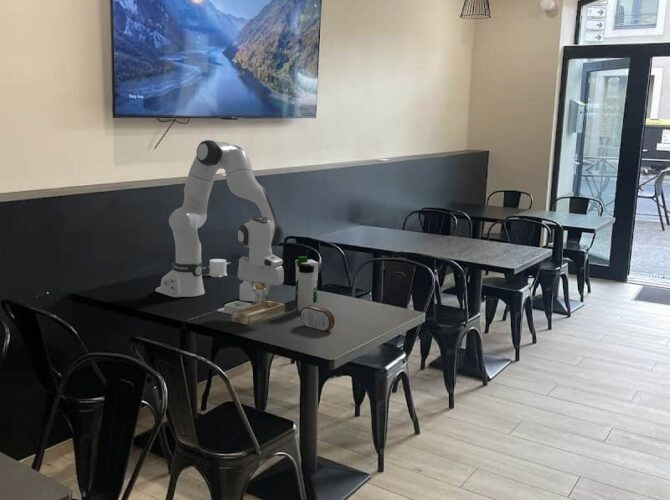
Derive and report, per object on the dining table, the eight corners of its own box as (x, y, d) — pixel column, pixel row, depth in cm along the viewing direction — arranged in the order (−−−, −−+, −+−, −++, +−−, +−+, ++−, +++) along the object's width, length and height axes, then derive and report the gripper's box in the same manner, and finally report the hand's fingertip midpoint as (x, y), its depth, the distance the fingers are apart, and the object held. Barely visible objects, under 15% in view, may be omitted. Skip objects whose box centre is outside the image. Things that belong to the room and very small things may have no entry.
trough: (231, 321, 267) (231, 312, 267) (267, 308, 287) (267, 300, 286) (250, 325, 263) (250, 316, 262) (285, 312, 282) (285, 304, 282)
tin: (334, 332, 258) (335, 310, 257) (329, 334, 256) (330, 312, 254) (304, 324, 267) (304, 302, 266) (298, 325, 265) (299, 304, 263)
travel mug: (293, 310, 285) (295, 263, 282) (306, 308, 290) (307, 261, 286) (303, 314, 281) (304, 265, 277) (315, 312, 285) (317, 264, 281)
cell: (252, 302, 273) (252, 282, 272) (258, 300, 277) (259, 280, 275) (261, 303, 271) (261, 283, 270) (267, 301, 275) (267, 281, 273)
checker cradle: (217, 311, 280) (217, 304, 280) (235, 305, 291) (235, 299, 290) (240, 316, 274) (240, 309, 274) (259, 310, 285) (259, 303, 284)
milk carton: (292, 300, 302) (293, 255, 298) (311, 298, 306) (312, 254, 303) (300, 305, 294) (302, 259, 291) (319, 303, 298) (321, 257, 295)
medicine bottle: (255, 302, 297) (255, 274, 295) (239, 300, 298) (239, 273, 296) (260, 298, 304) (260, 271, 302) (244, 296, 305) (245, 270, 303)
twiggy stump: (245, 277, 346) (245, 261, 344) (213, 282, 332) (213, 265, 331) (221, 270, 359) (221, 255, 358) (189, 275, 346) (189, 259, 344)
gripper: (234, 256, 273) (234, 291, 276) (276, 263, 263) (276, 298, 266) (244, 254, 279) (244, 288, 281) (286, 260, 269) (285, 295, 271)
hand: (260, 293), depth 273 cm, fingers closed on cell, 4 cm apart
